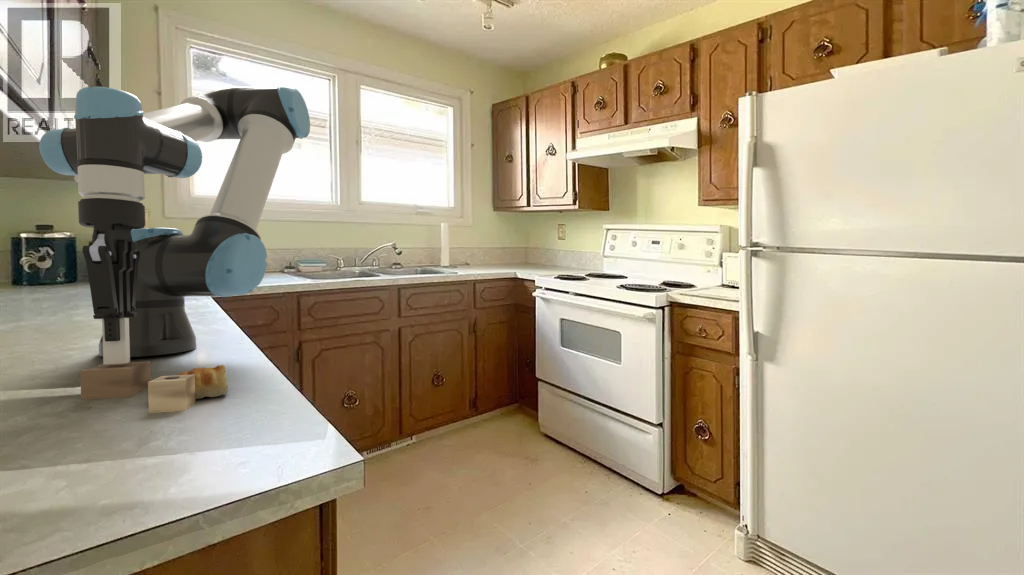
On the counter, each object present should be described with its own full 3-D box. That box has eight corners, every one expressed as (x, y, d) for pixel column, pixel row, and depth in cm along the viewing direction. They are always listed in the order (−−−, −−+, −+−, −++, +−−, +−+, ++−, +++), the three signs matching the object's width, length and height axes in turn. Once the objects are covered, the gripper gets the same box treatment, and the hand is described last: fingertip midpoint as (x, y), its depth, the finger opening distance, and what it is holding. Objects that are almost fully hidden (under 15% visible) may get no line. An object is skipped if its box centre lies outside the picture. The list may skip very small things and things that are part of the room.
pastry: (149, 406, 65) (147, 378, 65) (151, 395, 71) (149, 368, 71) (231, 394, 71) (230, 368, 70) (226, 385, 76) (225, 360, 76)
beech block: (161, 406, 67) (160, 375, 67) (195, 403, 68) (194, 373, 68) (148, 413, 63) (147, 381, 63) (185, 411, 64) (184, 379, 64)
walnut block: (105, 393, 75) (104, 363, 75) (151, 390, 76) (150, 361, 76) (81, 403, 69) (80, 370, 69) (131, 400, 70) (130, 368, 70)
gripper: (101, 205, 77) (105, 358, 78) (55, 191, 65) (61, 372, 65) (158, 207, 79) (162, 355, 80) (124, 194, 67) (129, 368, 68)
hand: (116, 362), depth 73 cm, fingers closed
